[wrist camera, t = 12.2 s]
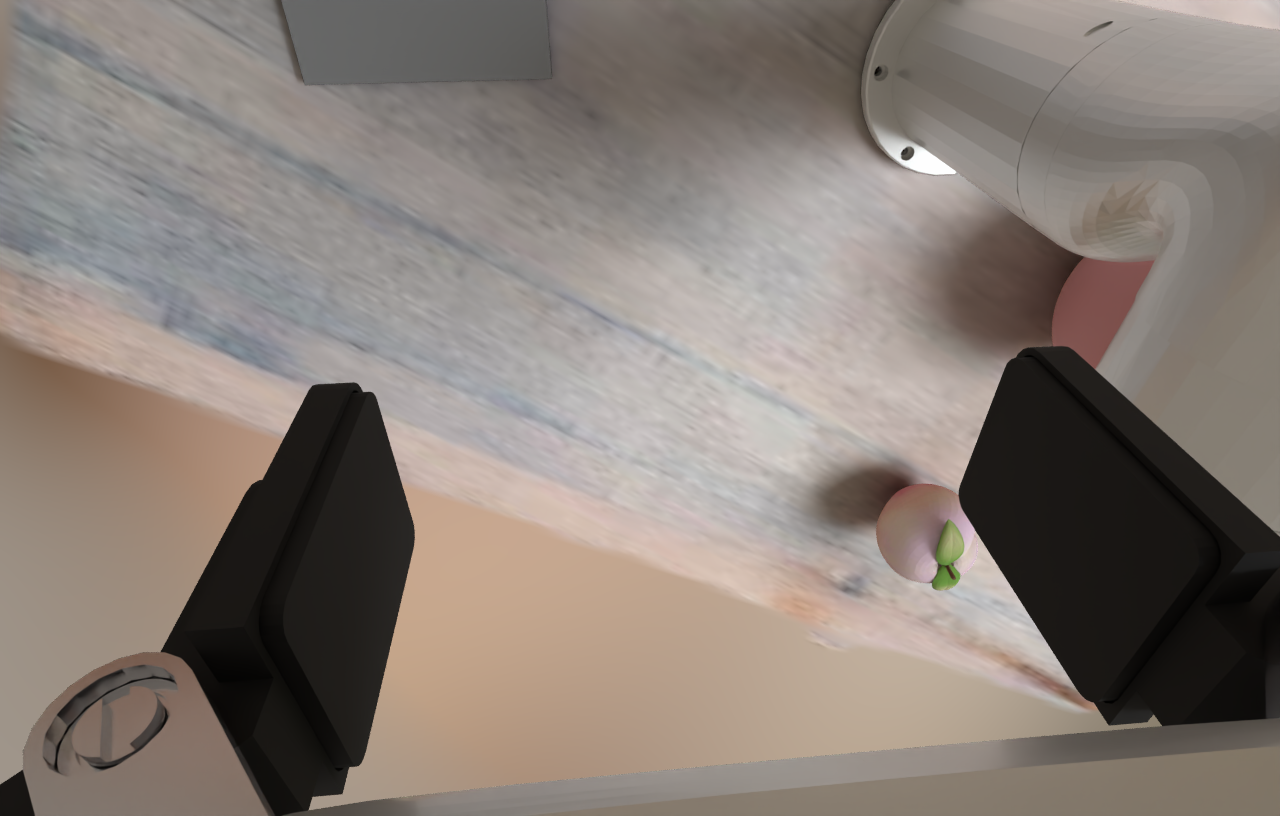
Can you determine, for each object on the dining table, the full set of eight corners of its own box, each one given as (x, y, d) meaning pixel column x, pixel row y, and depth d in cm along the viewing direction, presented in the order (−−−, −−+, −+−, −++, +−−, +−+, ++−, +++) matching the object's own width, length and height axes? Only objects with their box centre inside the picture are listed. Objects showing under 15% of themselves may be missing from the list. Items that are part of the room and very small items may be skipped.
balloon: (1106, 411, 60) (1244, 543, 48) (970, 299, 52) (1093, 424, 40) (1283, 279, 53) (1495, 394, 41) (1157, 125, 45) (1376, 212, 33)
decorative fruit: (851, 476, 62) (893, 562, 54) (940, 446, 61) (996, 529, 53) (869, 539, 68) (909, 625, 60) (951, 513, 67) (1003, 597, 59)
